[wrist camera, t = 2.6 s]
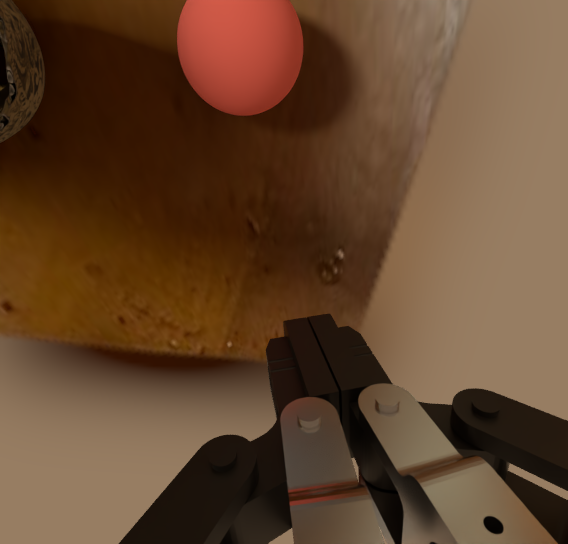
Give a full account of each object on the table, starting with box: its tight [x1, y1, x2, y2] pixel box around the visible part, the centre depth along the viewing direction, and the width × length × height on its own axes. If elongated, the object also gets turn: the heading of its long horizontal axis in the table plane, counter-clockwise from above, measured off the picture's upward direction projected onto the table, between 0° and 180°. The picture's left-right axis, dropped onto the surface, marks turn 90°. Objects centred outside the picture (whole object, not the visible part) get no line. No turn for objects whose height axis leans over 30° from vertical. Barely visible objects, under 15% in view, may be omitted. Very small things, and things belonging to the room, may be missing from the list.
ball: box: [177, 0, 303, 116], centre depth 17 cm, size 6×6×6 cm
